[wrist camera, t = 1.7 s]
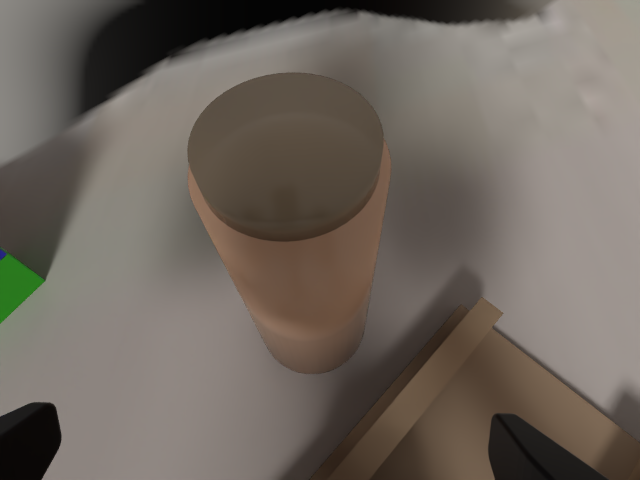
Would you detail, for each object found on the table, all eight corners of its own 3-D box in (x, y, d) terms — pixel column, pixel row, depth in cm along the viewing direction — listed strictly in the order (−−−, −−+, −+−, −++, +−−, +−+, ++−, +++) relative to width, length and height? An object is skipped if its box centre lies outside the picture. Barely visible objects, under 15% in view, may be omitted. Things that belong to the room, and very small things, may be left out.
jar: (312, 398, 21) (278, 278, 9) (240, 322, 23) (132, 142, 11) (386, 319, 23) (441, 132, 11) (313, 256, 25) (289, 40, 13)
